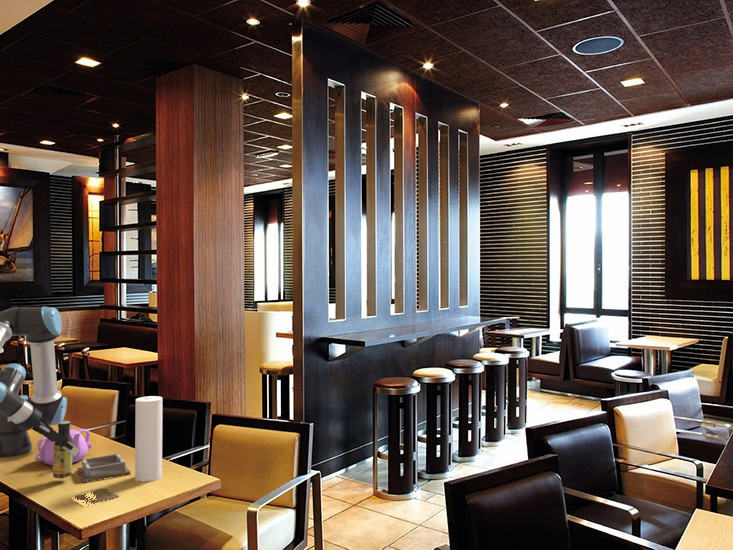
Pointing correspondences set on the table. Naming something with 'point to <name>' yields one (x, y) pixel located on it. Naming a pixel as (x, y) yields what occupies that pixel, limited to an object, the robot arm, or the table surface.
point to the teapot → (78, 441)
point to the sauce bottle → (62, 453)
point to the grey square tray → (102, 467)
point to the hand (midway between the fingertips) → (73, 450)
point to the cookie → (98, 496)
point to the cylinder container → (148, 438)
